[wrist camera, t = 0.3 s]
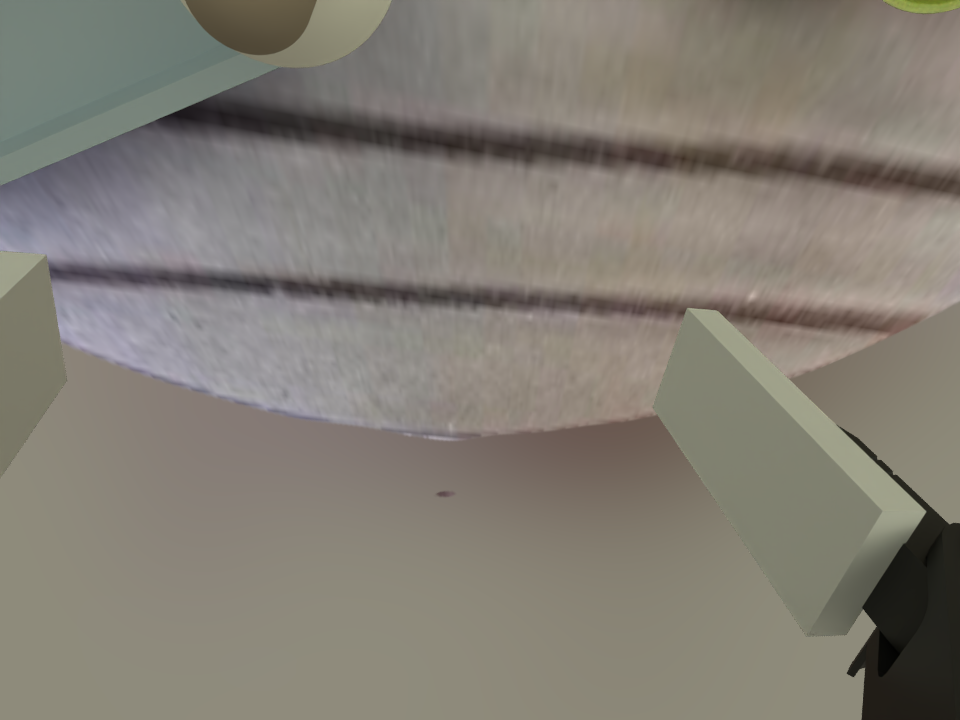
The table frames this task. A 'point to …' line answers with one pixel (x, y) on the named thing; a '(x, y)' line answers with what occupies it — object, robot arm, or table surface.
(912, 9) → the plant pot
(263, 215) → the table surface
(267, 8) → the cream bottle
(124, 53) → the grey-green cradle
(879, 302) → the table surface
